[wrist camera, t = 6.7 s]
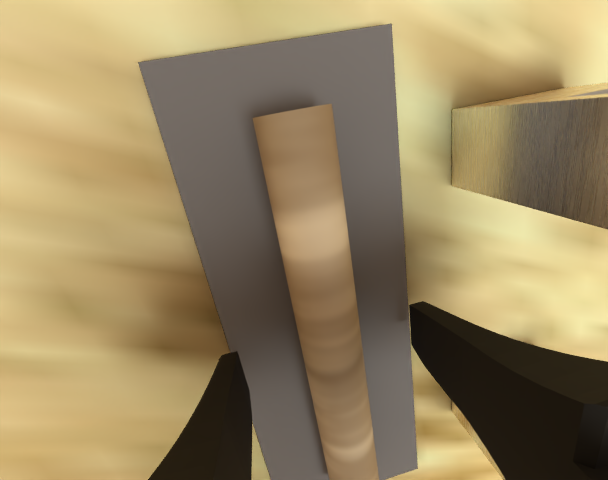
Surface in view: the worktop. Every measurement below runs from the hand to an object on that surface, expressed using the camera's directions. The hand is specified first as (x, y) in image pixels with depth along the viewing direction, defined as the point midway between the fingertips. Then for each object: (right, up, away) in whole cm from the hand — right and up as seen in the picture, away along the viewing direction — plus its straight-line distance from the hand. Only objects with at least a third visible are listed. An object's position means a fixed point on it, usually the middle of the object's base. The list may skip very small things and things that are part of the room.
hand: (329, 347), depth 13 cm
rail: (0, 0, 0) cm, 0 cm away
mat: (0, +1, +2) cm, 2 cm away
